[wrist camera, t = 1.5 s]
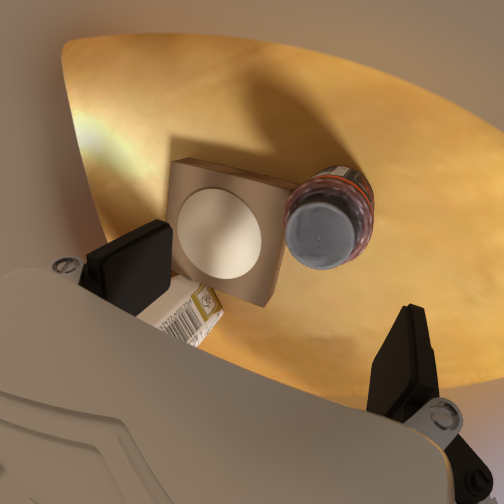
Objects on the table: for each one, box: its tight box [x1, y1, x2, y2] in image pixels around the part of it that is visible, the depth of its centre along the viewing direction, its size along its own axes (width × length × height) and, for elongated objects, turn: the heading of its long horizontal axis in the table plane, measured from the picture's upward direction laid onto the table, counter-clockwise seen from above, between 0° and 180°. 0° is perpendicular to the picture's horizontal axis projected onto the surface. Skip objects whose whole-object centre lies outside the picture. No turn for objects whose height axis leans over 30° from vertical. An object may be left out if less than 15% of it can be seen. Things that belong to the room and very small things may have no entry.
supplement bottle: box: [283, 166, 374, 270], centre depth 21 cm, size 6×6×11 cm
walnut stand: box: [167, 158, 299, 308], centre depth 30 cm, size 12×12×3 cm
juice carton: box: [136, 274, 224, 347], centre depth 29 cm, size 8×9×19 cm
